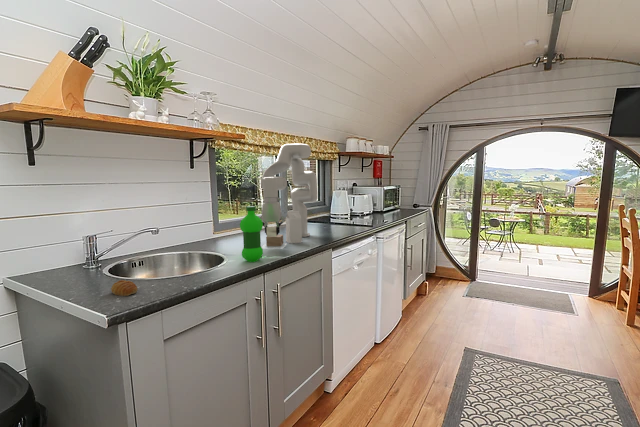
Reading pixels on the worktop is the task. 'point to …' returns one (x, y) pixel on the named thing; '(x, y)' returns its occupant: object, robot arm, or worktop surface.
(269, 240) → the walnut base block
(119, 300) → the worktop surface
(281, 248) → the blueprint board
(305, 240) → the worktop surface
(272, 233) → the cream cube
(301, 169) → the robot arm
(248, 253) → the plastic bottle
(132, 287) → the pastry
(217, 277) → the worktop surface
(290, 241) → the milk carton
